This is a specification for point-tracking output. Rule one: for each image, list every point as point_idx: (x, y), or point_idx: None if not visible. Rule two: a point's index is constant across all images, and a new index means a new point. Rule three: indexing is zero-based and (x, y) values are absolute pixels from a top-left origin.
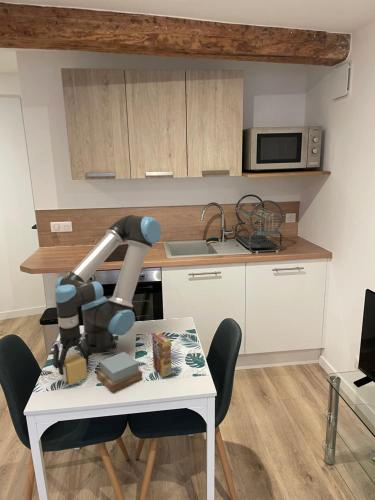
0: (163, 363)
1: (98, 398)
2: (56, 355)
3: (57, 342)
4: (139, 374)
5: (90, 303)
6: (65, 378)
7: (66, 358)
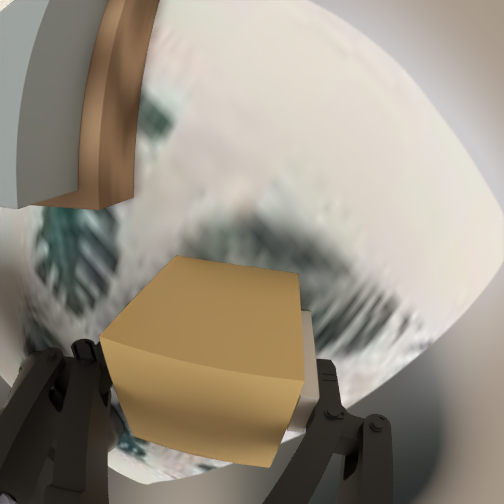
0: None
1: (245, 2)
2: None
3: None
4: None
5: None
6: (306, 327)
7: (233, 455)
